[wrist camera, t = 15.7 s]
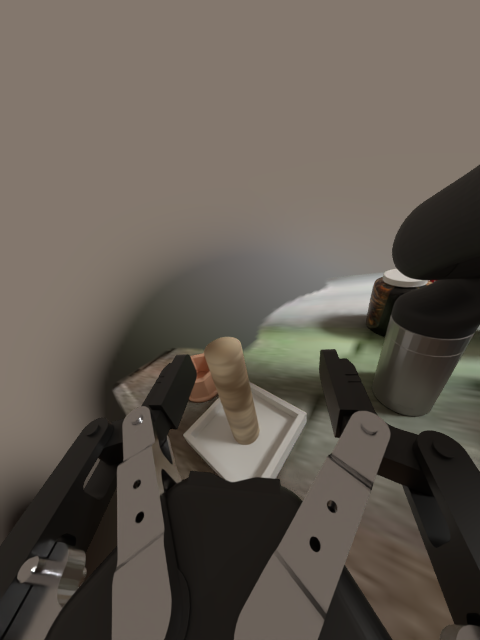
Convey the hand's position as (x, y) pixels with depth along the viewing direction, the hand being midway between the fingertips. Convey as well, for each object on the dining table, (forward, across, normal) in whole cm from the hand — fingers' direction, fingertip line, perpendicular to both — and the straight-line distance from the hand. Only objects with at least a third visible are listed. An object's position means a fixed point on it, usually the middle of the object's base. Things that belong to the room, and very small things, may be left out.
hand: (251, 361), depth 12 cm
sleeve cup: (+21, +18, +29) cm, 40 cm away
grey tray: (+10, +6, +29) cm, 31 cm away
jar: (+41, -31, +30) cm, 59 cm away
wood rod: (+10, +6, +28) cm, 30 cm away
